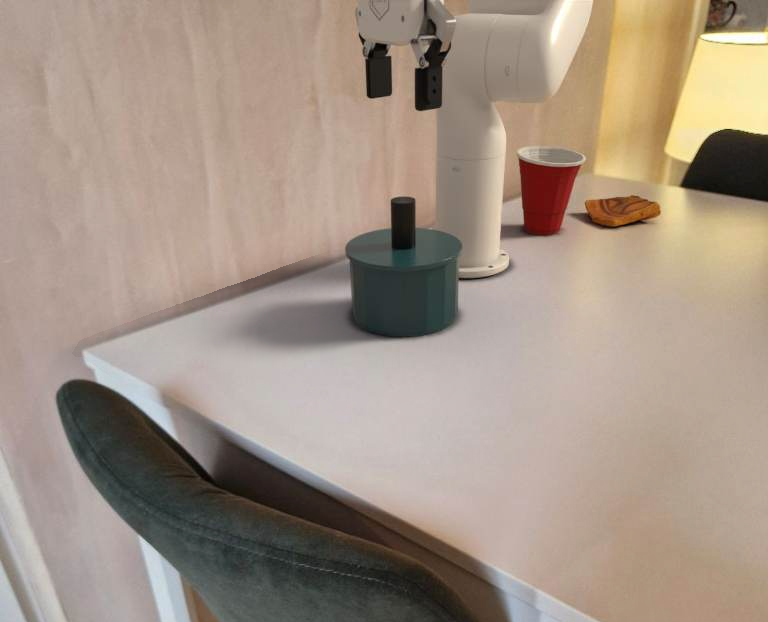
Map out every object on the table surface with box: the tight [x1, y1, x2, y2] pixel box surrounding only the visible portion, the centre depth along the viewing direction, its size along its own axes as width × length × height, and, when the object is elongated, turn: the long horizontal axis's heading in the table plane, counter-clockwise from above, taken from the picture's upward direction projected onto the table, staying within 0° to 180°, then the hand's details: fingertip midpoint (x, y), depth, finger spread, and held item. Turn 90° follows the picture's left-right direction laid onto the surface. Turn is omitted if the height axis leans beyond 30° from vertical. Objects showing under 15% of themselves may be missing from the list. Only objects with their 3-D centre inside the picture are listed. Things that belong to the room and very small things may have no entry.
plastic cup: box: [516, 145, 587, 236], centre depth 123 cm, size 11×11×12 cm
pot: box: [349, 257, 460, 338], centre depth 98 cm, size 14×14×8 cm
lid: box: [344, 195, 462, 272], centre depth 93 cm, size 15×15×7 cm
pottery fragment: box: [584, 194, 662, 227], centre depth 129 cm, size 10×5×10 cm
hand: (403, 102), depth 85 cm, fingers open, 9 cm apart
